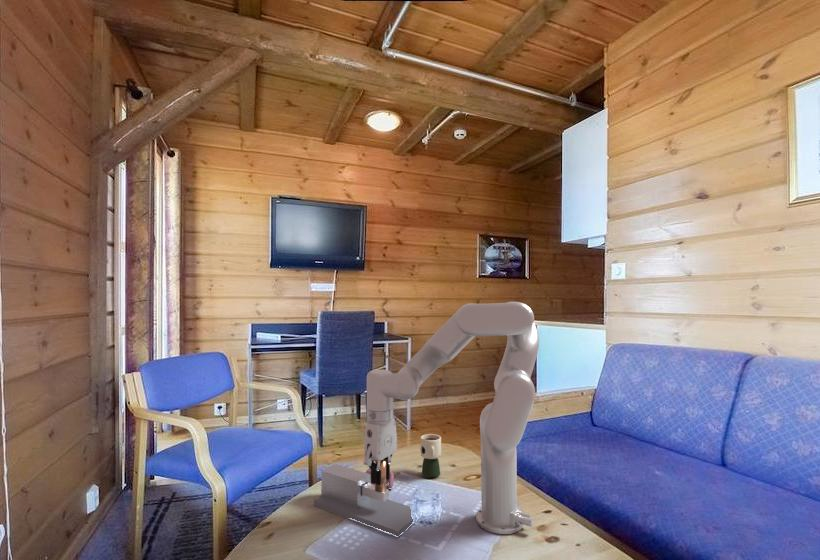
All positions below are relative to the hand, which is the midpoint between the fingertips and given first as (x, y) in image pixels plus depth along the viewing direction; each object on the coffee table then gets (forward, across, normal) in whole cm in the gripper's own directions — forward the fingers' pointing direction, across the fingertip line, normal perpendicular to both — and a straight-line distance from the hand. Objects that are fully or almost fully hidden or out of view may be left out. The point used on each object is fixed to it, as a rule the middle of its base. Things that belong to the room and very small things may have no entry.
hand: (380, 480), depth 113 cm
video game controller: (+10, +14, +11) cm, 20 cm away
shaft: (+5, 0, +8) cm, 10 cm away
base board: (+10, 0, +5) cm, 11 cm away
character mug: (+10, +30, +1) cm, 32 cm away
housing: (+8, 0, +13) cm, 15 cm away
